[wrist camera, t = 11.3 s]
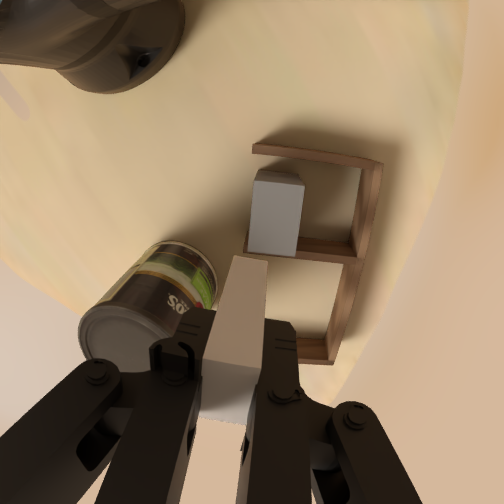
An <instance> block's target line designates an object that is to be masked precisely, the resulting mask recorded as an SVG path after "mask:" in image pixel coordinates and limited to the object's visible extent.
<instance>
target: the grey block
mask: <svg viewBox="0 0 504 504" xmlns="http://www.w3.org/2000/svg"><path fill="white" fill-rule="evenodd" d="M304 190H305V185H304V184H303V182H302V180H301V178H300V177H299V175H298V174H291V173H283V172H274V171H265V170H258V172H257V174H256V177H255V179H254V184H253V195H252V206H251V218H250V229H249V240H248V251H247V252H256V253H266V254H275V255H284V256H293V257H295V253H296V246H297V240H298V233H299V226H300V219H301V212H302V205H303V197H304Z"/></svg>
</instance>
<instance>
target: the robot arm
mask: <svg viewBox="0 0 504 504" xmlns="http://www.w3.org/2000/svg"><path fill="white" fill-rule="evenodd" d="M184 24H185V11H184V6H183V3H182V1H181V0H0V64H10V65H21V66H31V67H39V68H47V69H54V70H56V71H57V72H58V73H60V74H61V75H62V76H63V77H64V78H66V79H67V80H68V81H69V82H70V83H72V84H73V85H74V86H76V87H77V88H79V89H82V90H84V91H88V92H93V93H100V94H114V93H120V92H124V91H127V90H130V89H132V88H134V87H136V86H138V85H140V84H142V83H143V82H145V81H146V80H148V79H149V78H151V77H152V76H153V75H154V74H155V73H157V72H158V71H159V70H160V69H161V68H162V67H163V66H164V65H165V63H166V62H167V61H168V60H169V58H170V57H171V56H172V54H173V53H174V51H175V49H176V48H177V46H178V44H179V41H180V39H181V36H182V33H183V30H184ZM267 268H268V261H265V260H259V259H253V258H247V257H241V256H236V255H234V257H233V260H232V263H231V267H230V270H229V273H228V276H227V279H226V283H225V286H224V289H223V292H222V296H221V299H220V302H219V305H218V309H217V311H215V310H209V309H204V308H199V307H194V306H192V307H191V308H190V309H188V310H187V311H186V312H184V313H183V315H182V318H181V320H180V322H179V324H178V326H177V328H176V332H175V333H174V335H173V337H169V338H163V339H160V340H158V341H156V342H154V343H153V344H152V345H151V346H150V347H149V358H150V369H151V370H148V371H145V372H120V371H119V369H118V366H116V365H115V364H114V363H113V362H112V361H109V360H106V359H101V358H94V359H90V360H86V361H85V362H83V363H81V364H80V365H79V366H78V367H76V368H75V369H74V370H73V371H72V372H71V373H70V374H69V375H68V376H66V377H65V378H64V379H63V380H62V381H61V382H60V383H58V384H57V385H56V386H55V387H54V388H53V389H52V390H51V391H50V392H49V393H47V394H46V395H45V396H44V397H43V398H42V399H41V400H40V401H39V402H38V403H36V404H35V405H34V406H33V407H32V408H31V409H30V410H29V411H28V412H27V413H26V414H25V415H23V416H22V417H21V418H20V419H19V420H18V421H17V422H16V423H15V424H14V425H13V426H12V427H11V428H9V429H8V430H7V431H6V432H5V433H4V434H3V435H2V436H1V437H0V504H77V502H78V501H79V500H80V499H81V498H82V496H83V495H84V494H85V493H86V491H87V490H88V489H89V488H90V486H91V485H92V484H93V483H94V481H95V480H96V479H97V478H98V476H99V475H100V474H101V473H102V471H103V470H104V469H105V468H106V466H107V465H108V464H109V462H110V461H111V463H110V465H109V468H108V470H107V473H106V475H105V478H104V480H103V483H102V485H101V488H100V490H99V493H98V496H97V498H96V501H95V503H94V504H179V502H180V497H181V493H182V489H183V484H184V480H185V476H186V471H187V467H188V463H189V459H190V455H191V450H192V446H193V442H194V438H195V434H196V422H197V419H198V415H199V417H201V418H207V419H211V420H217V421H222V422H228V423H235V424H241V425H246V424H247V425H246V433H245V436H244V440H243V443H242V446H241V450H240V451H242V456H241V464H240V472H239V481H238V489H237V497H236V504H312V497H311V496H312V495H311V488H312V491H313V494H314V497H315V501H316V504H422V502H421V500H420V498H419V496H418V494H417V492H416V490H415V488H414V486H413V484H412V482H411V480H410V478H409V476H408V474H407V472H406V471H405V468H404V467H403V465H402V463H401V461H400V459H399V457H398V455H397V453H396V452H395V450H394V448H393V446H392V444H391V442H390V440H389V438H388V436H387V435H386V433H385V431H384V429H383V427H382V425H381V423H380V422H379V420H378V418H377V416H376V414H375V413H374V412H373V411H372V410H371V408H369V407H368V406H366V405H365V404H362V403H359V402H356V401H346V402H344V403H341V404H339V405H338V406H337V407H336V408H332V407H329V406H326V405H323V404H320V403H318V402H316V401H313V400H312V399H311V398H309V397H308V396H307V395H306V394H305V392H304V390H303V389H302V387H301V386H300V382H299V368H298V354H297V343H296V342H297V341H296V331H295V330H294V328H293V327H292V325H291V324H290V322H286V321H279V320H273V319H267V318H265V303H266V286H267Z"/></svg>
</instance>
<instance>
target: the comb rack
mask: <svg viewBox="0 0 504 504" xmlns="http://www.w3.org/2000/svg"><path fill="white" fill-rule="evenodd" d="M252 154H263V155H272V156H281V157H290V158H298V159H306V160H313V161H320V162H327V163H333V164H339V165H345V166H351V167H357V168H362V169H361V176H360V182H359V189H358V195H357V200H356V206H355V212H354V217H353V222H352V227H351V232H350V237H349V242H348V243H345V242H337V241H328V240H320V239H311V238H303V237H298V240H297V246H296V253H295V257H293V256H284V255H275V254H266V253H256V252H247V251H248V240H249V231H247V235H246V239H245V242H244V249H243V253H249V254H258V255H267V256H277V257H286V258H295V259H304V260H313V261H323V262H332V263H341V264H344V265H343V270H342V274H341V278H340V282H339V287H338V291H337V295H336V299H335V303H334V307H333V310H332V314H331V318H330V322H329V325H328V329H327V332H326V336H325V340H321V339H307V338H296V341H297V342H296V343H297V354H298V364H314V365H334V362H335V359H336V356H337V353H338V350H339V347H340V344H341V341H342V338H343V335H344V332H345V328H346V325H347V322H348V319H349V315H350V312H351V308H352V305H353V301H354V298H355V294H356V291H357V287H358V283H359V280H360V276H361V272H362V268H363V264H364V260H365V256H366V251H367V247H368V243H369V238H370V234H371V229H372V224H373V220H374V215H375V210H376V204H377V199H378V194H379V188H380V182H381V176H382V170H383V163H380V162H377V161H374V160H370V159H365V158H360V157H355V156H349V155H343V154H337V153H331V152H325V151H318V150H311V149H304V148H296V147H288V146H279V145H270V144H260V143H255V144H253V146H252Z"/></svg>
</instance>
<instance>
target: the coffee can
mask: <svg viewBox="0 0 504 504" xmlns="http://www.w3.org/2000/svg"><path fill="white" fill-rule="evenodd" d="M217 290H218V282H217V276H216V273H215V271H214V268H213V267H212V265H211V263H210V262H209V261H208V259H207V258H206V257H205V256H204V255H203V254H202V253H201V252H200V251H198V250H197V249H195V248H193V247H192V246H189V245H187V244H184V243H181V242H174V241H167V242H161V243H158V244H155V245H153V246H152V247H150V248H149V249H148V250H147V251H146V252H145V253H144V254H143V255H142V257H141V258H140V259H139V260H138V261H137V262H136V263H135V264H134V265H133V266H132V267H131V268H130V269H129V270H128V271H127V272H126V273H125V274H124V275H123V276H122V277H121V278H120V279H119V280H118V281H117V282H116V283H115V284H114V285H113V286H112V287H111V288H110V289H109V290H108V292H107V293H106V294H105V295H104V296H103V297H102V298H101V299H100V300H99V301H98V302H97V303H96V305H95V306H93V307H92V308H91V309H89V310H88V311H87V312H86V313H85V314H84V316H83V317H82V318H81V320H80V323H79V327H78V339H79V344H80V347H81V350H82V352H83V354H84V356H85V358H86V360H90V359H94V358H101V359H106V360H109V361H112V362H113V363H114V364H115V365H116V366H118V369H119V371H120V372H145V371H148V370H151V369H150V358H149V347H150V346H151V345H152V344H153V343H154V342H156V341H158V340H160V339H163V338H169V337H173V335H174V333H175V332H176V328H177V326H178V324H179V322H180V320H181V318H182V315H183V313H184V312H186V311H187V310H188V309H190V308H191V307H192V306H194V307H199V308H204V309H209V310H211V307H212V304H213V302H214V300H215V298H216V295H217Z"/></svg>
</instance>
